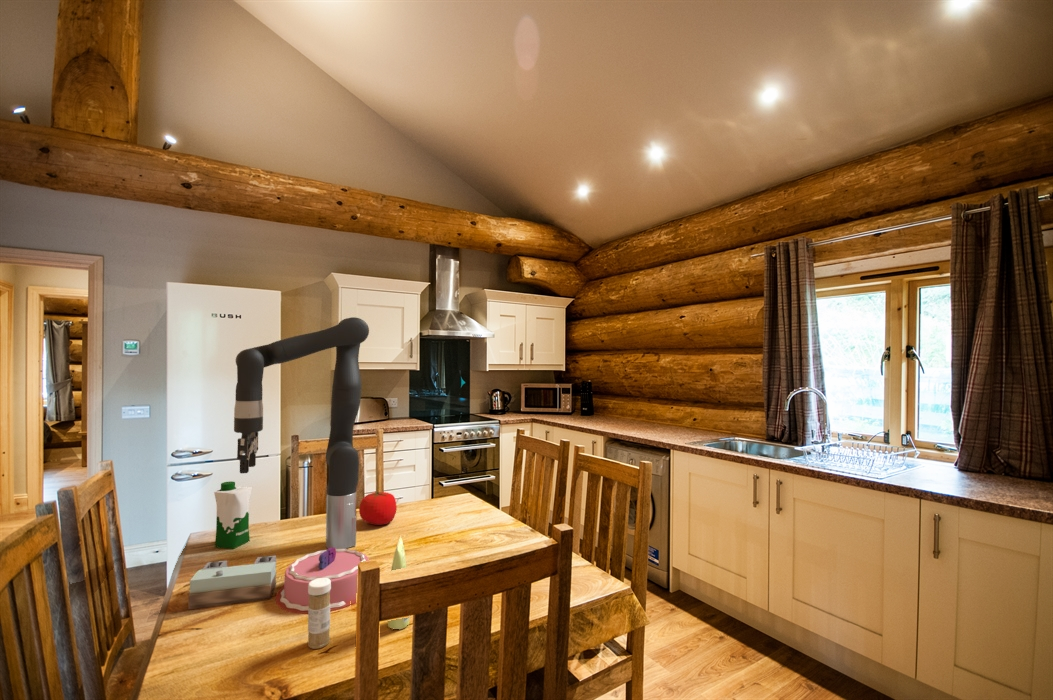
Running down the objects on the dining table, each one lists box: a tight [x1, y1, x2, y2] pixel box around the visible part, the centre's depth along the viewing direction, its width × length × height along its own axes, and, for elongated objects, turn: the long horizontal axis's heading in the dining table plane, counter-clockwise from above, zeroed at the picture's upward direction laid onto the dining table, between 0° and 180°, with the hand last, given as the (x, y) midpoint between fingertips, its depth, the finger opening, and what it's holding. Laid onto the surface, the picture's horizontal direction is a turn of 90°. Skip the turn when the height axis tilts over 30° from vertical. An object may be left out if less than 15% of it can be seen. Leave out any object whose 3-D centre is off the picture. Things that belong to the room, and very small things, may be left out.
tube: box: [387, 535, 410, 630], centre depth 114 cm, size 6×5×20 cm
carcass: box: [187, 555, 277, 610], centre depth 127 cm, size 18×10×7 cm, turn 107°
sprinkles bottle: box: [307, 578, 331, 650], centre depth 106 cm, size 5×5×14 cm
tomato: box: [358, 491, 397, 526], centre depth 181 cm, size 13×14×12 cm
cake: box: [275, 548, 370, 615], centre depth 130 cm, size 25×25×11 cm
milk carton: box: [213, 480, 253, 550], centre depth 160 cm, size 9×9×20 cm
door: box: [189, 555, 277, 594], centre depth 128 cm, size 18×11×4 cm, turn 107°
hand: (247, 469), depth 145 cm, fingers open, 8 cm apart
